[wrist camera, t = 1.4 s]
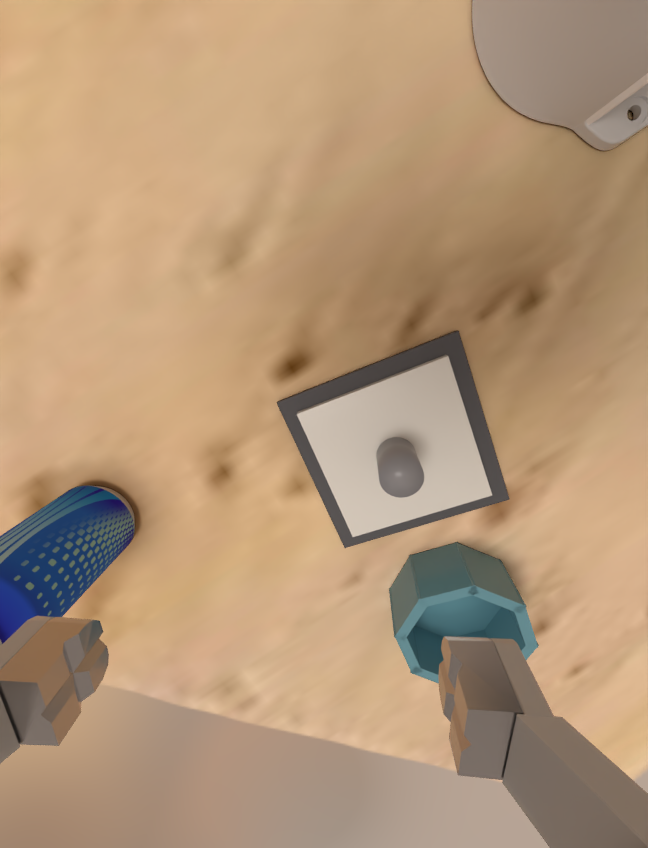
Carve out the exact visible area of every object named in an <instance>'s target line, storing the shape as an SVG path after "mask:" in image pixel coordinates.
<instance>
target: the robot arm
mask: <svg viewBox="0 0 648 848" xmlns="http://www.w3.org/2000/svg"><path fill="white" fill-rule="evenodd" d="M472 24H473V34H474V40H475V45H476V50H477V53H478V57H479V60H480V63H481V66H482V68H483V70H484V73H485V75H486V76H487V78H488V80H489V82H490V84H491V85H492V87H493V88H494V89H495V91H496V92H497V93H498V95H499V96H500V97H501V98H502V99H503V100H504V101H505V102H506V103H507V104H508V105H509V106H511V107H512V108H513V109H515V110H516V111H518V112H519V113H521V114H523V115H525V116H527V117H529V118H531V119H534V120H537V121H541V122H545V123H550V124H555V125H560V126H564V127H567V128H570V129H572V130H573V131H574V132H576V133H577V134H578V135H579V136H580V137H581V138H582V139H583V140H585V141H586V142H587V143H588V144H590V145H591V146H593V147H595V148H596V149H599V150H610V149H613V148H615V147H617V146H618V145H620V144H621V143H623V142H624V141H626V140H627V139H629V138H630V137H632V136H633V135H635V134H636V133H638V132H639V131H641V130H642V129H644V128H645V127H647V126H648V0H472ZM628 110H630V111H632V112H633V120H632V121H631V120H629V119H628V117H627V112H628ZM102 633H103V630H102V626H101V623H100V621H97V620H90V619H77V618H64V617H48V616H35V617H33V618H31V619H29V620H27V621H26V622H25V623H24V624H23V625H22V626H21V627H20V628H19V629H18V630H17V631H16V632H15V633H14V634H13V635H11V636H10V637H9V638H8V639H7V640H6V641H5V642H4V643H3V644H2V645H1V646H0V763H1V762H3V761H4V760H5V759H6V758H7V757H8V756H10V755H11V754H12V753H13V752H15V751H16V750H17V749H18V748H19V747H20V745H19V744H27V745H54V746H56V745H57V746H59V745H60V743H61V741H62V740H63V739H64V737H65V736H66V734H67V733H68V731H69V730H70V728H71V727H72V725H73V724H74V722H75V721H76V719H77V718H78V716H79V715H80V713H81V702H82V701H83V700H84V699H86V698H87V697H88V696H90V695H91V694H92V693H94V692H95V691H96V689H97V687H98V686H99V684H100V683H101V681H102V680H103V677H104V674H105V672H106V669H107V666H108V656H109V654H108V649H107V646H106V645H105V644H104V643H103V642H102V641H101V640H100V639H99V638H100V636H101V634H102ZM441 651H442V655H443V659H444V660H443V661H442V662H441V663H440V664H439V675H438V678H439V692H440V699H441V704H442V709H443V713H444V715H445V716H446V717H447V718H448V720H449V721H450V722H451V725H450V733H449V739H450V744H451V748H452V752H453V756H454V760H455V765H456V769H457V773H458V775H461V776H470V777H479V778H489V779H498V780H503V782H502V783H503V784H504V786H505V787H506V788H507V790H508V791H509V792H510V794H511V795H512V796H513V798H514V799H515V800H516V802H517V803H518V805H519V806H520V807H521V809H522V810H523V812H524V813H525V814H526V816H527V817H528V818H529V820H530V821H531V822H532V824H533V825H534V826H535V828H536V829H537V831H538V832H539V833H540V835H541V836H542V837H543V839H544V840H545V841H546V843H547V844H548V846H549V847H550V848H648V793H647V792H645V791H644V790H643V789H642V788H641V787H640V786H639V785H637V784H636V783H635V782H634V781H633V780H632V779H631V778H630V777H629V776H628V775H626V774H625V773H624V772H623V771H622V770H621V769H620V768H619V767H617V766H616V765H615V764H614V763H613V762H612V761H611V760H610V759H608V758H607V757H606V756H605V755H604V754H603V753H602V752H601V751H600V750H598V749H597V748H596V747H595V746H594V745H593V744H592V743H591V742H589V741H588V740H587V739H586V738H585V737H584V736H583V735H582V734H580V733H579V732H578V731H577V730H576V729H575V728H574V727H573V726H572V725H570V724H569V723H568V722H567V721H566V720H565V719H564V718H563V717H557V716H554V715H553V713H552V711H551V709H550V707H549V705H548V703H547V701H546V699H545V697H544V695H543V693H542V691H541V689H540V687H539V685H538V683H537V681H536V679H535V677H534V675H533V673H532V671H531V669H530V668H529V666H528V664H527V662H526V660H525V658H524V656H523V654H522V652H521V650H520V648H519V646H518V644H517V643H516V642H515V641H514V640H513V639H498V638H489V639H488V638H479V637H451V636H444V637H443V640H442V645H441Z"/></svg>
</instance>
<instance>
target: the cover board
mask: <svg viewBox="0 0 648 848" xmlns="http://www.w3.org/2000/svg"><path fill="white" fill-rule="evenodd" d="M297 416H298V418H299V421H300V423H301V425H302V427H303V429H304V432H305V434H306V436H307V438H308V440H309V443H310V445H311V447H312V449H313V451H314V453H315V456H316V458H317V460H318V462H319V464H320V467H321V469H322V471H323V473H324V475H325V477H326V480H327V482H328V484H329V486H330V488H331V491H332V493H333V495H334V497H335V499H336V502H337V504H338V506H339V508H340V510H341V512H342V515H343V517H344V519H345V521H346V523H347V526H348V528H349V530H350V532H351V534H352V537H355V536H359V535H362V534H365V533H369V532H372V531H375V530H379V529H382V528H385V527H389V526H392V525H395V524H399V523H402V522H405V521H409V520H412V519H415V518H419V517H422V516H425V515H429V514H432V513H435V512H439V511H442V510H445V509H449V508H452V507H455V506H459V505H462V504H465V503H469V502H472V501H475V500H479V499H482V498H485V497H489V496H492V492H491V489H490V486H489V483H488V480H487V477H486V473H485V470H484V467H483V464H482V461H481V458H480V454H479V451H478V448H477V445H476V442H475V439H474V436H473V432H472V429H471V426H470V423H469V420H468V417H467V414H466V410H465V407H464V404H463V401H462V398H461V395H460V391H459V388H458V385H457V382H456V379H455V376H454V373H453V369H452V366H451V363H450V360H449V357H448V356H447V355H444V356H441V357H439V358H436V359H433V360H431V361H428V362H426V363H423V364H420V365H418V366H415V367H413V368H410V369H407V370H405V371H402V372H400V373H397V374H395V375H392V376H389V377H387V378H384V379H382V380H379V381H376V382H374V383H371V384H369V385H366V386H363V387H361V388H358V389H356V390H353V391H350V392H348V393H345V394H343V395H340V396H337V397H335V398H332V399H330V400H327V401H325V402H322V403H319V404H317V405H314V406H312V407H309V408H306V409H304V410H301V411H299V412H298V413H297Z"/></svg>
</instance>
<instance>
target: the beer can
mask: <svg viewBox="0 0 648 848" xmlns="http://www.w3.org/2000/svg"><path fill="white" fill-rule="evenodd" d="M134 523H135V518H134V513H133V510H132V508H131V506H130V504H129V503H128V502H127V500H126V499H125V498H124V497H123V496H122V495H120V494H119V493H117V492H116V491H114V490H112V489H109V488H106V487H102V486H88V485H86V486H78V487H75V488H73V489H71V490H69V491H67V492H66V493H64V494H63V495H61V496H60V497H58V498H57V499H55V500H54V501H52V502H51V503H49V504H48V505H46V506H45V507H43V508H42V509H40V510H39V511H37V512H36V513H34V514H33V515H31V516H30V517H28V518H27V519H25V520H24V521H22V522H21V523H19V524H18V525H16V526H15V527H13V528H12V529H10V530H9V531H7V532H6V533H4V534H3V535H1V536H0V646H1V645H2V644H3V643H4V642H5V641H6V640H7V639H8V638H9V637H10V636H11V635H13V634H14V633H15V632H16V631H17V630H18V629H19V628H20V627H21V626H22V625H23V624H24V623H25V622H26V621H27V620H29V619H31V618H33V617H35V616H48V617H62V616H63V615H64V614H65V613H66V612H67V611H68V610H69V608H70V607H71V606H72V605H73V604H74V603H75V602H76V601H77V600H78V599H79V598H80V597H81V596H82V594H83V593H84V592H85V591H86V590H87V589H88V588H89V587H90V586H91V585H92V584H93V583H94V581H95V580H96V579H97V578H98V577H99V576H100V575H101V574H102V573H103V572H104V571H105V570H106V569H107V567H108V566H109V565H110V564H111V563H112V562H113V561H114V560H115V559H116V558H117V557H118V556H119V555H120V553H121V552H122V551H123V550H124V549H125V548H126V547H127V546H128V545H129V544H130V542H131V540H132V539H133V536H134V531H135V524H134Z"/></svg>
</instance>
